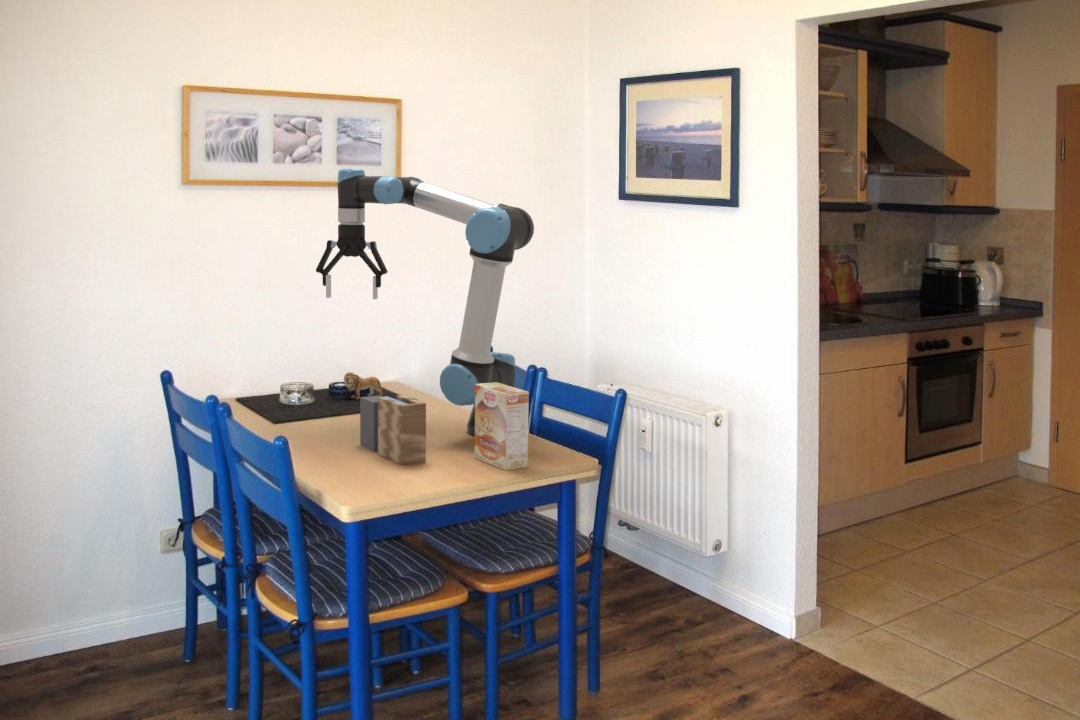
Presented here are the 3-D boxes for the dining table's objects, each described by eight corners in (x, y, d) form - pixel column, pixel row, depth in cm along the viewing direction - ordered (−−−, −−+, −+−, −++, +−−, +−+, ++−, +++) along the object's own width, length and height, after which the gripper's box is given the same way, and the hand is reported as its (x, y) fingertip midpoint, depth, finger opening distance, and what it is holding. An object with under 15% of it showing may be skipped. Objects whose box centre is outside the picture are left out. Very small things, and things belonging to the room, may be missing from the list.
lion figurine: (348, 401, 349) (348, 373, 348) (340, 398, 353) (340, 371, 352) (387, 396, 359) (387, 369, 357) (378, 393, 363) (378, 367, 361)
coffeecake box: (473, 458, 280) (474, 383, 277) (496, 454, 284) (497, 381, 281) (504, 471, 268) (506, 393, 265) (528, 467, 272) (530, 390, 269)
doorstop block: (360, 444, 291) (360, 397, 289) (378, 442, 295) (378, 395, 292) (373, 451, 285) (373, 402, 283) (392, 448, 288) (392, 400, 286)
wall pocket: (378, 454, 282) (377, 397, 279) (401, 450, 286) (401, 394, 283) (401, 464, 271) (401, 406, 269) (425, 461, 275) (425, 403, 273)
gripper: (397, 224, 311) (397, 298, 314) (312, 222, 313) (313, 295, 316) (391, 225, 303) (391, 300, 307) (304, 223, 305) (305, 298, 309)
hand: (351, 298), depth 311 cm, fingers open, 13 cm apart
